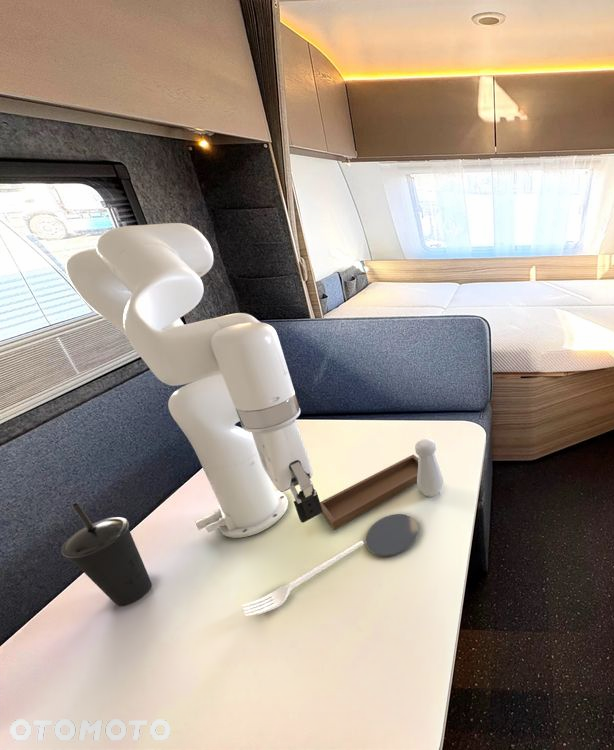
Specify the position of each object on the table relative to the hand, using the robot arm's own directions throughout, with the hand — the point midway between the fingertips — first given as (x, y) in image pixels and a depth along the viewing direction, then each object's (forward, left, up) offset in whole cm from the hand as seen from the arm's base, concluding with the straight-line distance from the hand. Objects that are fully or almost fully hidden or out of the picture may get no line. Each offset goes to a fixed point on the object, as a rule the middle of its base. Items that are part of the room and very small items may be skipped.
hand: (300, 501), depth 62 cm
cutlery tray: (+17, +11, -16) cm, 26 cm away
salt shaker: (+25, +3, -16) cm, 30 cm away
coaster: (+13, -2, -16) cm, 21 cm away
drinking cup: (-25, +19, -16) cm, 35 cm away
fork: (-2, 0, -16) cm, 16 cm away
